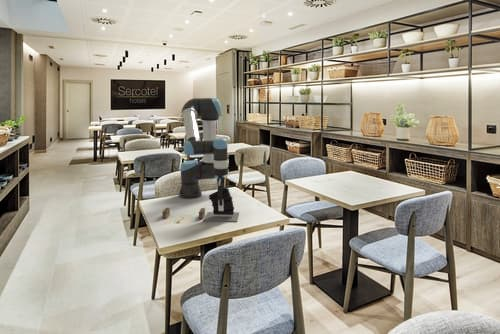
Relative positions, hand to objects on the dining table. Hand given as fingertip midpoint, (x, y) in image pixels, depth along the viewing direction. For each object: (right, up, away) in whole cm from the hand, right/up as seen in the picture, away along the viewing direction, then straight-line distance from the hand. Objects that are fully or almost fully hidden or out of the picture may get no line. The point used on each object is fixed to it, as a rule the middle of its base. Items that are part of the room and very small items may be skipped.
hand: (221, 209), depth 191 cm
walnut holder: (-21, -4, +2) cm, 21 cm away
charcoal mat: (0, -4, +1) cm, 5 cm away
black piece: (0, -3, +1) cm, 3 cm away
